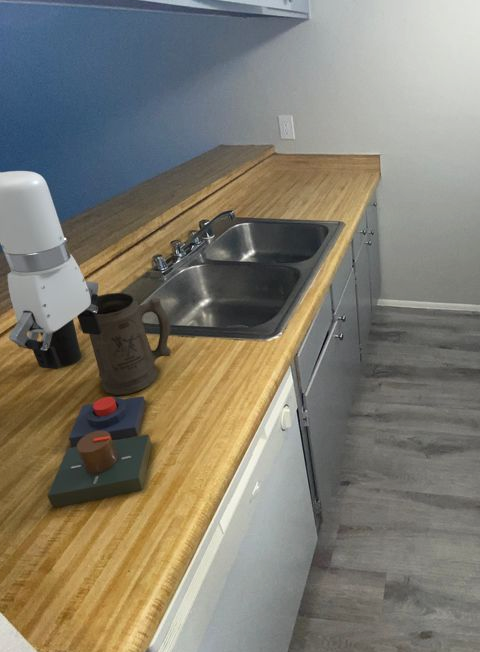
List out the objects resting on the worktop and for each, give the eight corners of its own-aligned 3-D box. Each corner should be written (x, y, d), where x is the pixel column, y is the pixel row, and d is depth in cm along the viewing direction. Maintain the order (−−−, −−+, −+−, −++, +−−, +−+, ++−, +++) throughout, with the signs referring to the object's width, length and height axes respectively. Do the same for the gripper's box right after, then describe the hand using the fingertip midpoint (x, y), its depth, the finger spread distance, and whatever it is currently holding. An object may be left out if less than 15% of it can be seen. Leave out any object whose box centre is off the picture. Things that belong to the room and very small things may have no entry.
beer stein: (109, 404, 97) (90, 320, 89) (91, 380, 103) (72, 299, 95) (183, 375, 108) (173, 297, 99) (163, 355, 114) (151, 280, 105)
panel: (53, 508, 76) (46, 494, 74) (72, 460, 84) (66, 447, 83) (142, 490, 79) (138, 477, 78) (152, 446, 88) (148, 433, 86)
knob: (81, 476, 78) (72, 453, 75) (89, 454, 82) (80, 432, 79) (114, 470, 79) (106, 447, 77) (120, 449, 83) (112, 426, 81)
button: (93, 418, 89) (90, 411, 88) (98, 405, 92) (95, 398, 91) (114, 415, 90) (112, 408, 89) (118, 402, 93) (116, 395, 92)
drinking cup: (42, 361, 109) (12, 284, 99) (78, 346, 114) (53, 272, 105) (58, 374, 105) (27, 295, 96) (94, 357, 110) (69, 282, 101)
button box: (71, 446, 87) (65, 430, 85) (85, 413, 95) (79, 398, 93) (137, 435, 90) (133, 419, 88) (146, 404, 98) (141, 389, 96)
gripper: (58, 233, 79) (87, 320, 87) (-38, 280, 63) (8, 380, 71) (101, 236, 78) (126, 323, 86) (14, 284, 63) (54, 385, 71)
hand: (72, 349), depth 79 cm, fingers open, 9 cm apart
